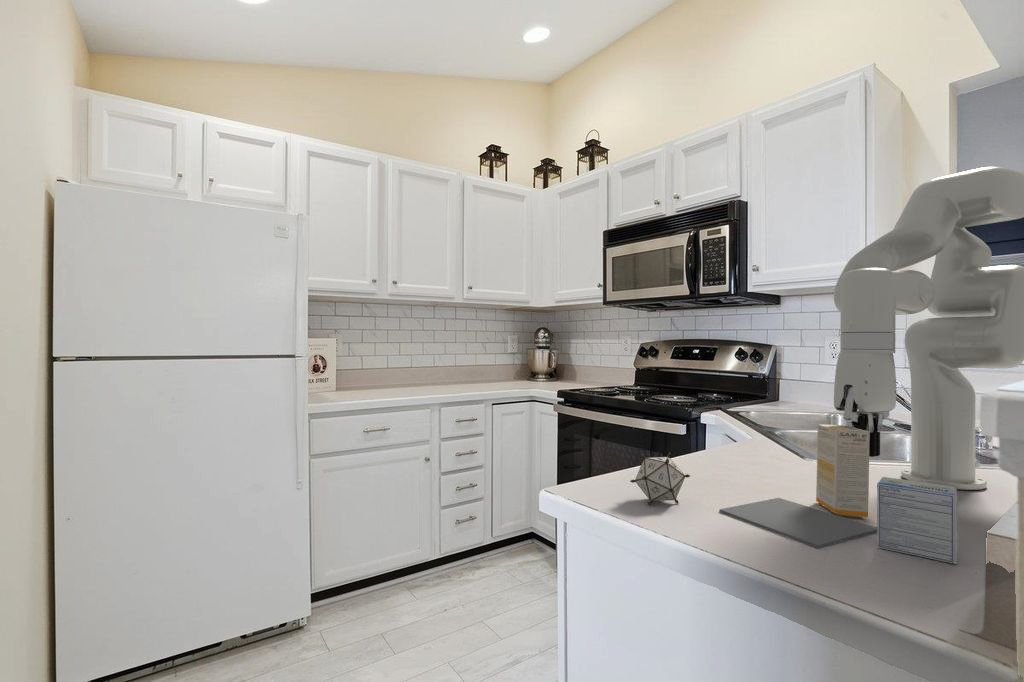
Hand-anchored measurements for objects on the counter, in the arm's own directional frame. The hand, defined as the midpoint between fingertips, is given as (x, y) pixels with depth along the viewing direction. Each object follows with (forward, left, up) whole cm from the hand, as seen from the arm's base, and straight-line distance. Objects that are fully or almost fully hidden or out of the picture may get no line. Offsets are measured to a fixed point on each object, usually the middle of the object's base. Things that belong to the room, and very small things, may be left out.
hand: (866, 454), depth 85 cm
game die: (+30, -16, -9) cm, 35 cm away
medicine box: (+14, +14, -9) cm, 22 cm away
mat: (+18, 0, -8) cm, 20 cm away
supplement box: (+7, 0, -8) cm, 11 cm away
